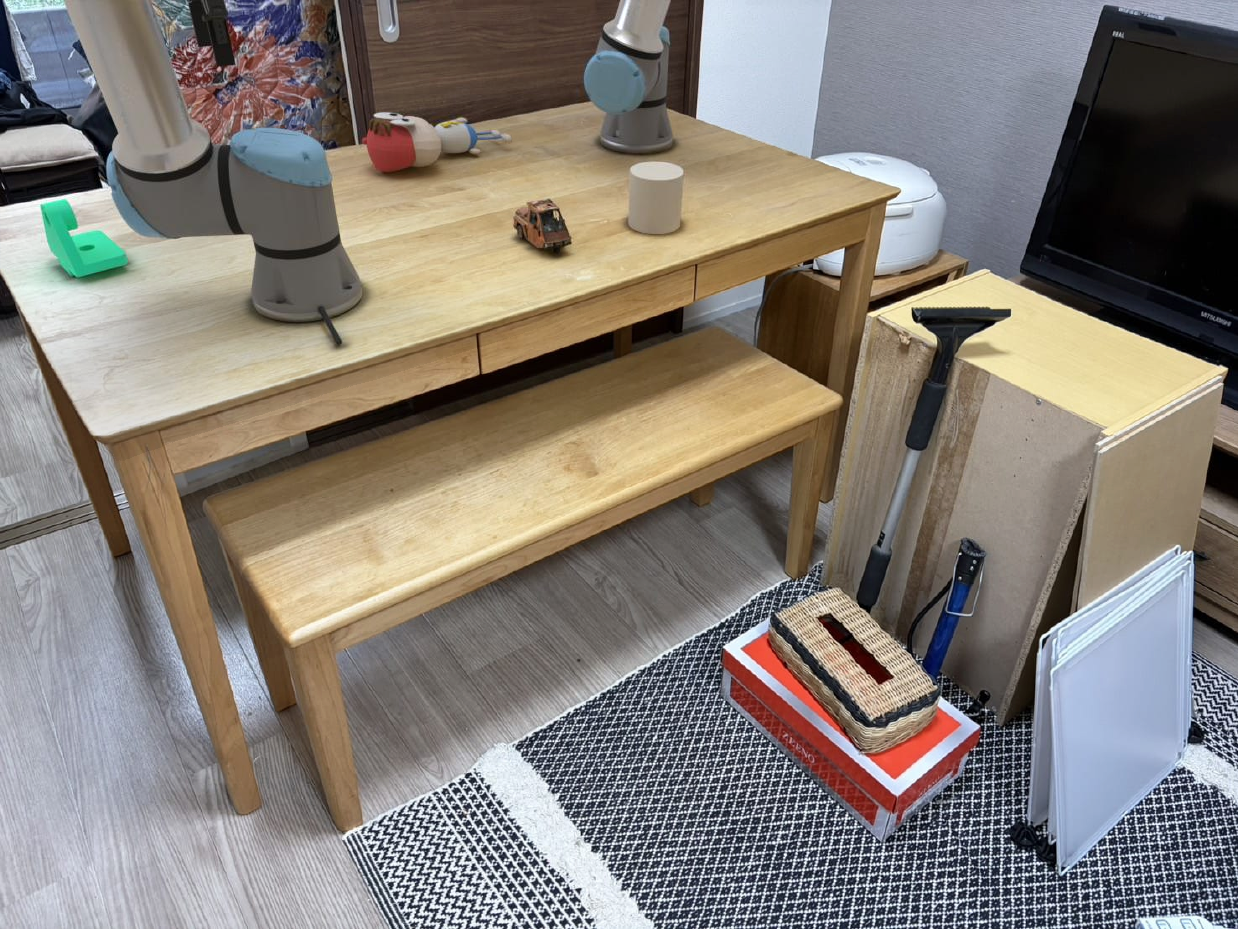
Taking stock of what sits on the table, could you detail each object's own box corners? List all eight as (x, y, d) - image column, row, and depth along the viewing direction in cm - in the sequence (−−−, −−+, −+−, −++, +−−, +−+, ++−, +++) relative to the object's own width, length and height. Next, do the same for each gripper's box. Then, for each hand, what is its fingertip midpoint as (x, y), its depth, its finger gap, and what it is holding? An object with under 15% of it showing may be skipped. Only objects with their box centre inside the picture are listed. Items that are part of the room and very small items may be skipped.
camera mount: (132, 270, 140) (111, 204, 134) (79, 284, 136) (55, 217, 130) (104, 244, 147) (84, 181, 141) (53, 257, 143) (29, 192, 137)
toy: (528, 119, 180) (378, 122, 165) (527, 172, 185) (381, 180, 170) (487, 104, 193) (345, 105, 178) (486, 154, 198) (348, 160, 183)
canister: (658, 210, 165) (660, 157, 160) (690, 226, 160) (694, 173, 154) (617, 221, 161) (619, 167, 155) (650, 238, 155) (652, 183, 150)
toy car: (537, 226, 158) (536, 186, 154) (580, 250, 150) (580, 209, 146) (506, 235, 154) (504, 194, 150) (548, 260, 147) (547, 218, 143)
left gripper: (228, -92, 127) (260, 71, 140) (191, -111, 144) (223, 36, 157) (170, -90, 124) (208, 76, 136) (139, -110, 141) (176, 40, 153)
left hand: (216, 55), depth 147 cm, fingers open, 13 cm apart
